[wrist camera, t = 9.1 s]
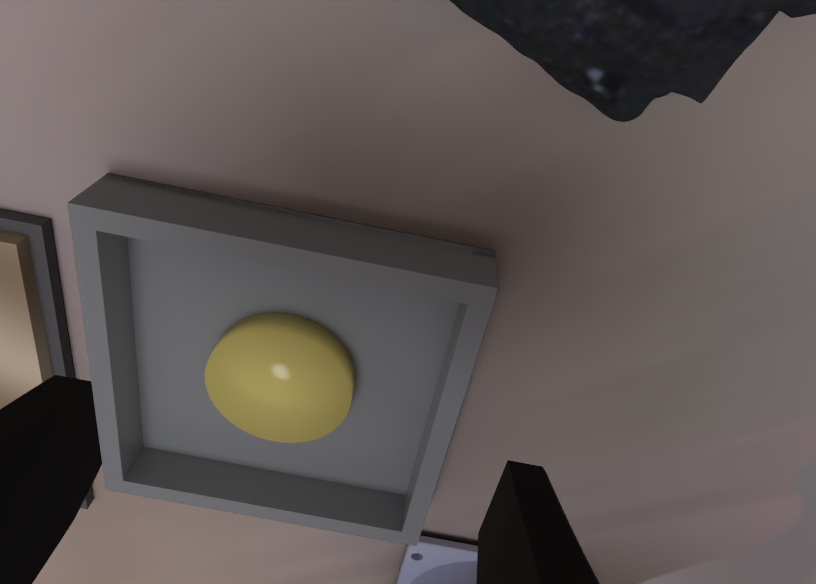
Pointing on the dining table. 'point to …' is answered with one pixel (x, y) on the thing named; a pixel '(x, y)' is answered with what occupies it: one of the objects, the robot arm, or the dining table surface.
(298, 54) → the dining table surface
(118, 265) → the dish
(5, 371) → the lid
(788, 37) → the dining table surface
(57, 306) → the mat
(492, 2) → the dark slate chunk
